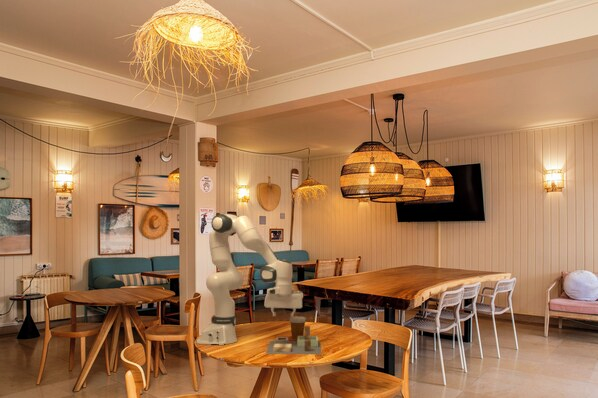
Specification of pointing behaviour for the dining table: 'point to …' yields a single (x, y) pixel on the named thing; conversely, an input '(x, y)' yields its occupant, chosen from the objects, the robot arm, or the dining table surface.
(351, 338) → the dining table surface
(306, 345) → the bench dog
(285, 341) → the dowel socket
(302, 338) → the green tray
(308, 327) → the oak dowel
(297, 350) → the bench mat
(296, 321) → the disposable coffee cup
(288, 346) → the beech plate
